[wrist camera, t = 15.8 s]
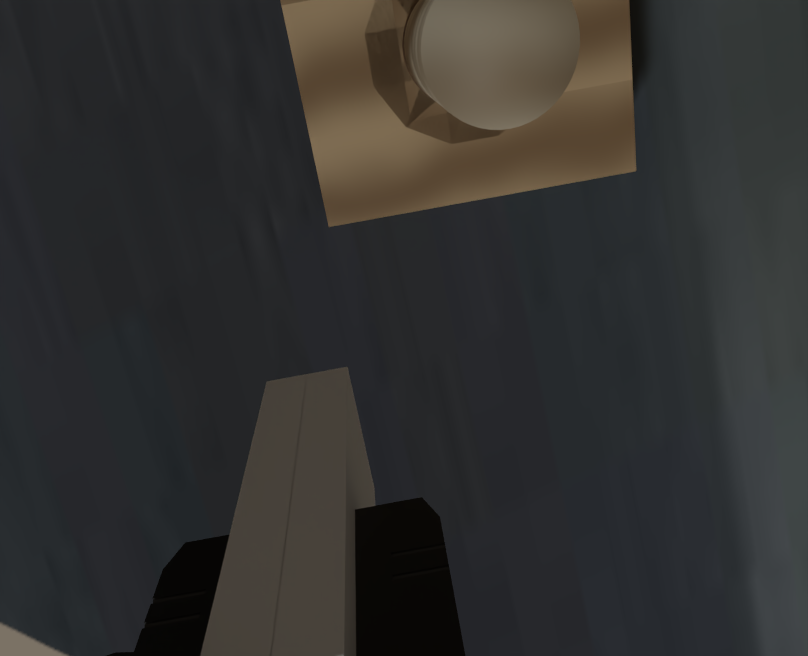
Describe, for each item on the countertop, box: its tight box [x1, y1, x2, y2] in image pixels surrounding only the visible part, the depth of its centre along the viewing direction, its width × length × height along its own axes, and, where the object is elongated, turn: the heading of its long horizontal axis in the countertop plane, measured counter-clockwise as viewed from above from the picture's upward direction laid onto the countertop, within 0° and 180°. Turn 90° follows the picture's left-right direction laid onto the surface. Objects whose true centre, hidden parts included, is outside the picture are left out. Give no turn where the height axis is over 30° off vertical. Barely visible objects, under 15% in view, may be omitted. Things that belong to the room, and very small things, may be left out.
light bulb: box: [402, 0, 580, 130], centre depth 32 cm, size 6×6×14 cm
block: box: [281, 0, 636, 227], centre depth 36 cm, size 15×16×5 cm
